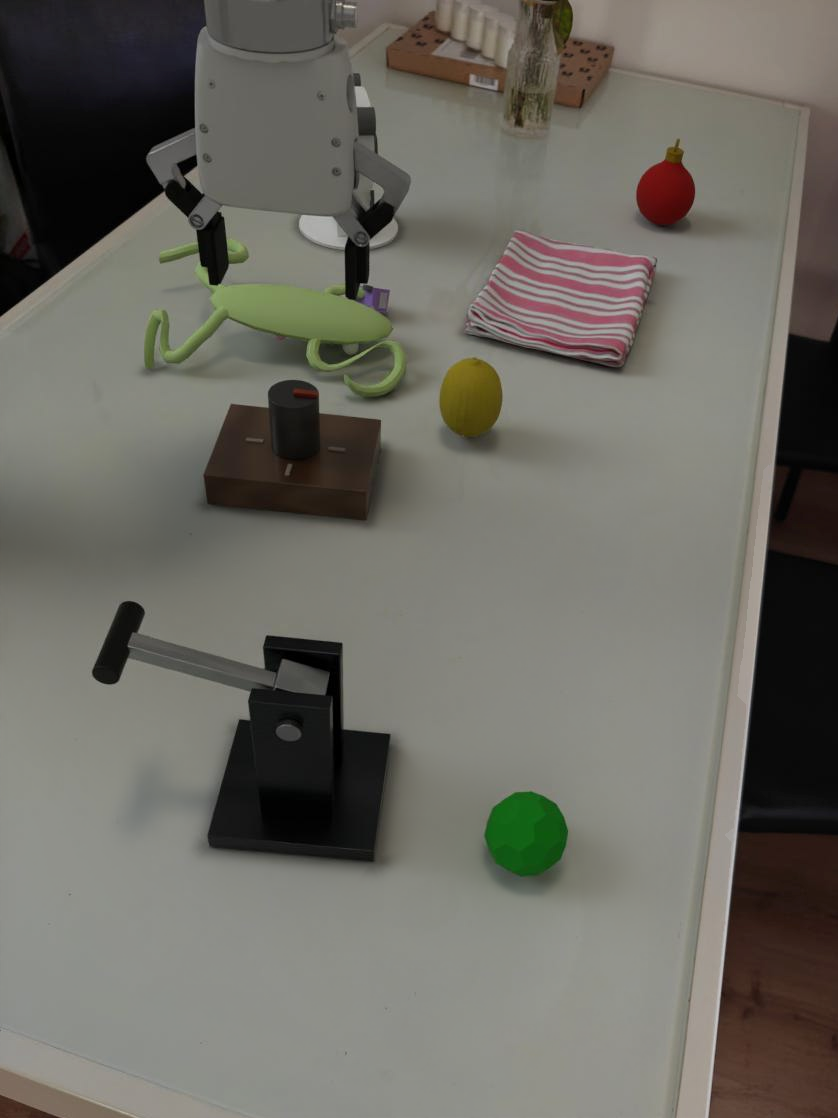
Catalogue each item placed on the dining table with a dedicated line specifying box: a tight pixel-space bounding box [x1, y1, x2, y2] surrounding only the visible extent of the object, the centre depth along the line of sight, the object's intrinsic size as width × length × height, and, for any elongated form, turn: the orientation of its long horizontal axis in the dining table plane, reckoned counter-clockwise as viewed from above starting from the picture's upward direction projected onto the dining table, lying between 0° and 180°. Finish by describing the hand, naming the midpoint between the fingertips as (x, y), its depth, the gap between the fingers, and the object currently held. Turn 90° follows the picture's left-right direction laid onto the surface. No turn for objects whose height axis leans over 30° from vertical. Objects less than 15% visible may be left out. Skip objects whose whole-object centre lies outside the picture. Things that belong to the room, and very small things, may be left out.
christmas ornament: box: [635, 138, 696, 226], centre depth 124 cm, size 7×7×10 cm
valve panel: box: [202, 403, 382, 521], centre depth 86 cm, size 13×10×3 cm
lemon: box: [438, 356, 504, 439], centre depth 90 cm, size 6×6×8 cm
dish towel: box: [464, 229, 658, 368], centre depth 110 cm, size 17×23×4 cm
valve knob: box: [267, 379, 321, 460], centre depth 83 cm, size 4×4×5 cm
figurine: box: [143, 237, 408, 398], centre depth 100 cm, size 18×27×6 cm
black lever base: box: [206, 634, 392, 863], centre depth 61 cm, size 10×9×12 cm
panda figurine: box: [298, 72, 399, 251], centre depth 113 cm, size 12×11×15 cm
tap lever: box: [91, 600, 330, 695], centre depth 57 cm, size 12×5×2 cm, turn 87°
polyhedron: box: [483, 790, 569, 877], centre depth 62 cm, size 5×5×5 cm
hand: (286, 283), depth 74 cm, fingers open, 9 cm apart
